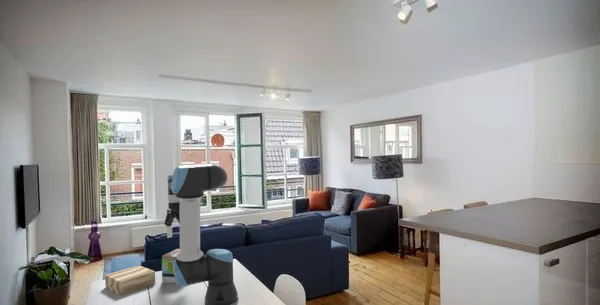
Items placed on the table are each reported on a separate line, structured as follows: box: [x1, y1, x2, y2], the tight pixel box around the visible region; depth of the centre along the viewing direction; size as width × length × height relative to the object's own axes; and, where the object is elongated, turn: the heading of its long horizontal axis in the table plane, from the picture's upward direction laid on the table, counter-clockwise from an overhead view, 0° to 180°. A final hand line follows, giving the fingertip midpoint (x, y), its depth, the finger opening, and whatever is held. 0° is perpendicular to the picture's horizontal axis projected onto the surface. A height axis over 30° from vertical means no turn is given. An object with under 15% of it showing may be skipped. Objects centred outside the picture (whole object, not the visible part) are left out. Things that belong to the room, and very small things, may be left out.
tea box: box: [161, 248, 180, 284], centre depth 181 cm, size 15×10×15 cm
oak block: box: [104, 264, 156, 296], centre depth 173 cm, size 18×18×7 cm
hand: (176, 239), depth 181 cm, fingers open, 13 cm apart
